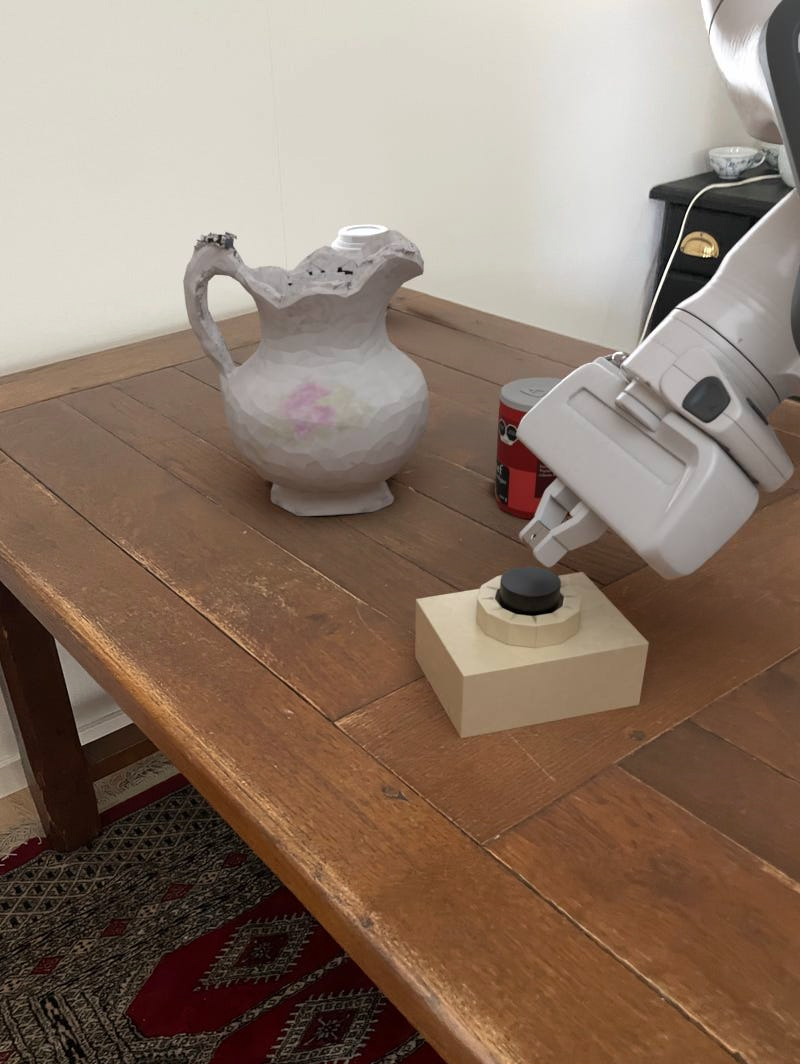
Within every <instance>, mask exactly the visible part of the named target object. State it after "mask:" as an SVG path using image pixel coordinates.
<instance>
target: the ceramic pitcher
mask: <svg viewBox="0 0 800 1064" xmlns="http://www.w3.org/2000/svg"><path fill="white" fill-rule="evenodd" d="M199 237H200V239H196V241H197V242H196V244H195V245H194V246H193V253H192V256H191V258H190V260H189V262H188V264H186V269H185V273H184V277H183V280H182V283H183V293H184V301H185V302H184V303H185V308H186V313H187V318H188V322H189V325H190V327H191V329H192V331H193V332H194V335H195V336H196V338H197V340H198V341H199V344H200V346H201V348H202V351H203V353H204V355H205V356H206V357H208V359H209V360H210V361H211V362H212V363H213V364H214V366H215V368H216V370H217V372H218V379H219V389H220V396H221V400H222V403H223V409H224V415H225V419H226V425H227V429H228V432H229V436H230V438H231V441H232V443H233V446H234V447H235V449H236V451H237V453H238V454H239V456H240V457H241V458H242V459H243V460H244V461H245V462H246V464H247V465H249V467H251V469H253V471H255V472H256V473H257V474H258V475H259V476H260V477H261V478H262V479H263V480H265V481H268V482H271V483H272V485H271V489H270V502H271V503H272V504H274V505H276V506H278V507H280V508H282V509H284V510H286V511H288V512H290V513H292V514H293V515H296V516H297V517H314V516H336V515H352V514H353V515H354V514H361V513H362V514H363V513H373V512H376V511H379V510H380V509H383V508H385V507H388V506H390V505H392V504H393V502H394V499H395V497H394V495H393V494H392V493H391V491H390V488H389V486H388V485H389V484H388V483H387V482H386V481H387V480H388V479H390V478H391V477H393V476H394V475H396V474H397V473H398V472H399V471H401V469H403V468H404V466H405V465H406V464H407V463H408V462H409V461H410V460H411V458H412V457H413V455H414V454H415V452H416V451H417V448H418V447H419V444H420V442H421V441H422V439H423V437H424V434H425V431H426V428H427V426H428V423H429V414H430V413H429V412H430V395H429V390H428V386H427V381H426V378H425V376H424V374H423V371H422V369H421V368H420V367H419V365H418V364H417V363H416V362H415V361H413V359H411V358H410V357H409V356H407V355H406V354H405V353H404V352H403V351H401V350H400V349H399V348H398V347H396V345H394V344H393V343H392V342H391V341H390V338H389V336H388V333H387V325H386V317H385V311H386V309H387V310H388V306H389V305H390V302H391V299H392V298H393V297H394V295H395V294H396V293H397V292H398V291H399V290H400V289H401V286H403V284H405V283H407V282H408V281H411V280H413V279H415V278H417V277H419V276H422V275H424V270H425V261H424V259H423V258H422V255H421V251H420V249H419V248H418V247H417V245H416V244H415V243H414V242H413V241H412V240H410V239H408V238H407V237H406V236H405V235H404V234H402V233H401V232H399V231H398V230H397V229H395V230H394V229H388V231H385V232H381V233H377V234H375V235H373V236H372V237H371V238H370V239H369V240H368V241H367V242H366V243H365V245H364V246H363V247H362V248H361V249H360V250H359V251H358V252H357V253H356V254H353V253H347V252H338V251H336V250H335V249H333V248H332V246H327V245H323V246H321V247H319V248H317V249H315V250H314V251H313V252H311V253H310V254H308V255H307V256H306V257H304V258H303V259H302V260H301V261H300V262H299V263H298V264H297V265H296V266H295V267H294V269H289V270H288V269H285V268H283V267H280V266H275V265H263V266H259V267H255V268H251V267H249V266H248V265H246V264H245V262H244V260H243V259H242V257H241V255H240V253H239V252H238V250H237V249H236V247H235V246H234V241H236V240H238V236H237V235H235V234H234V233H232V232H228V231H225V232H224V234H221V233H220V234H219V233H213V232H210V233H208V234H207V235H204V234H200V236H199ZM215 276H226V277H230V278H232V279H233V280H235V281H237V282H238V283H239V284H240V285H241V286H242V287H243V289H244V290H245V291H246V292H247V293H248V294H249V295H250V296H251V297H252V299H253V301H254V303H255V306H256V309H257V312H258V316H259V323H260V342H259V345H258V347H257V348H256V350H255V351H254V352H253V354H252V355H251V356H250V357H249V358H248V359H247V360H245V361H244V362H243V363H242V364H241V365H238V366H236V365H235V363H234V361H233V358H232V356H231V354H230V351H229V348H228V345H227V342H226V339H225V337H224V335H223V334H222V331H221V330H220V328H219V327H218V324H217V322H215V320H214V318H213V316H212V314H211V311H210V310H209V302H208V301H209V300H208V287H209V281H211V280H212V279H213V278H214V277H215Z"/></svg>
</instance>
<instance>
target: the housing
mask: <svg viewBox="0 0 800 1064" xmlns="http://www.w3.org/2000/svg"><path fill="white" fill-rule="evenodd" d="M502 575H503V574H501V575H497V576H495V577H493V578H491V579H490V580H488V581H487V582H485V583H483V584H481V585H480V587H479V588H475V589H469V590H464V591H463V590H462V591H457V592H451V593H450V592H449V593H443V594H438V595H433V596H426V597H421V598H415V639H414V640H415V641H414V643H415V647H414V649H415V650H414V651H415V653H414V655H415V656H414V658H415V659H416V662H417V663H418V665H419V667H420V669H421V670H422V672H423V674H424V676H425V677H426V680H427V681H428V683H429V684H430V686H431V688H432V690H433V692H434V694H435V695H436V697H437V699H438V701H439V703H440V704H441V706H442V708H443V709H444V711H445V713H446V715H447V717H448V718H449V720H450V721H451V724H452V725H453V727H454V728H455V731H456V732H457V734H458V736H459V738H460V739H465V738H471V737H476V736H478V737H479V736H483V735H487V734H488V735H489V734H493V733H498V732H503V731H509V730H514V729H519V728H525V727H529V726H536V725H541V724H546V723H552V722H556V721H561V720H566V719H572V718H577V717H583V716H587V715H593V714H598V713H604V712H610V711H615V710H620V709H624V708H625V709H626V708H630V707H635V706H639V705H640V701H641V695H642V690H643V683H644V676H645V670H646V663H647V657H648V651H649V645H650V643H649V641H648V640H647V639H646V638H645V637H644V636H643V635H642V634H641V633H640V632H639V630H638V629H637V628H636V627H635V626H634V625H633V624H632V623H631V622H630V620H628V619H627V618H626V616H624V614H623V613H622V612H621V611H620V610H619V609H618V607H616V605H614V604H613V603H612V601H610V599H609V598H608V597H607V596H606V595H605V594H604V593H603V592H602V590H601V589H600V588H598V586H597V585H596V584H595V583H594V582H593V580H591V579H590V577H588V576H587V574H586V573H585V572H583V571H579V572H572V573H566V574H560V575H557V576H558V577H559V578H560V581H561V588H560V598H559V606H558V608H557V610H556V611H554V612H553V613H549V614H543V615H537V616H527V615H519V614H515V613H512V612H510V611H508V610H506V609H503V608H502V607H501V605H500V603H499V598H500V582H501V577H502Z"/></svg>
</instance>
